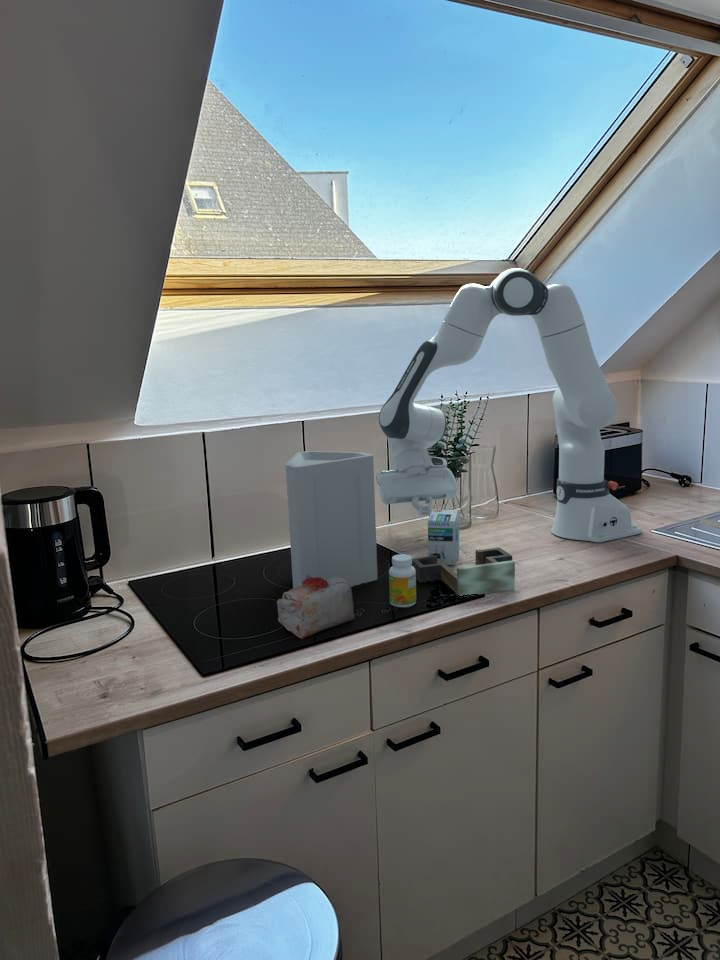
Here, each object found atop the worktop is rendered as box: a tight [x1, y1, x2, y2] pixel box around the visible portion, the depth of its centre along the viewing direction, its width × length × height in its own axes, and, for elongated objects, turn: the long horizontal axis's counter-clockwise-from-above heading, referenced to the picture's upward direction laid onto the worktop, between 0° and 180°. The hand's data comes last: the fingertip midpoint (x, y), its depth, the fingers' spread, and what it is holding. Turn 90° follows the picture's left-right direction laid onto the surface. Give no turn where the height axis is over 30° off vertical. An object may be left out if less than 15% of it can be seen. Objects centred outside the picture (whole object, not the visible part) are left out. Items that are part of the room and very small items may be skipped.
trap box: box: [411, 547, 516, 597], centre depth 157 cm, size 22×17×6 cm
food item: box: [276, 574, 356, 640], centre depth 136 cm, size 14×8×10 cm, turn 129°
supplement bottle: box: [388, 553, 417, 608], centre depth 145 cm, size 5×5×10 cm
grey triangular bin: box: [285, 450, 379, 589], centre depth 158 cm, size 19×15×28 cm
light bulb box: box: [427, 508, 460, 566], centre depth 172 cm, size 11×7×11 cm, turn 168°
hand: (425, 514), depth 182 cm, fingers closed
